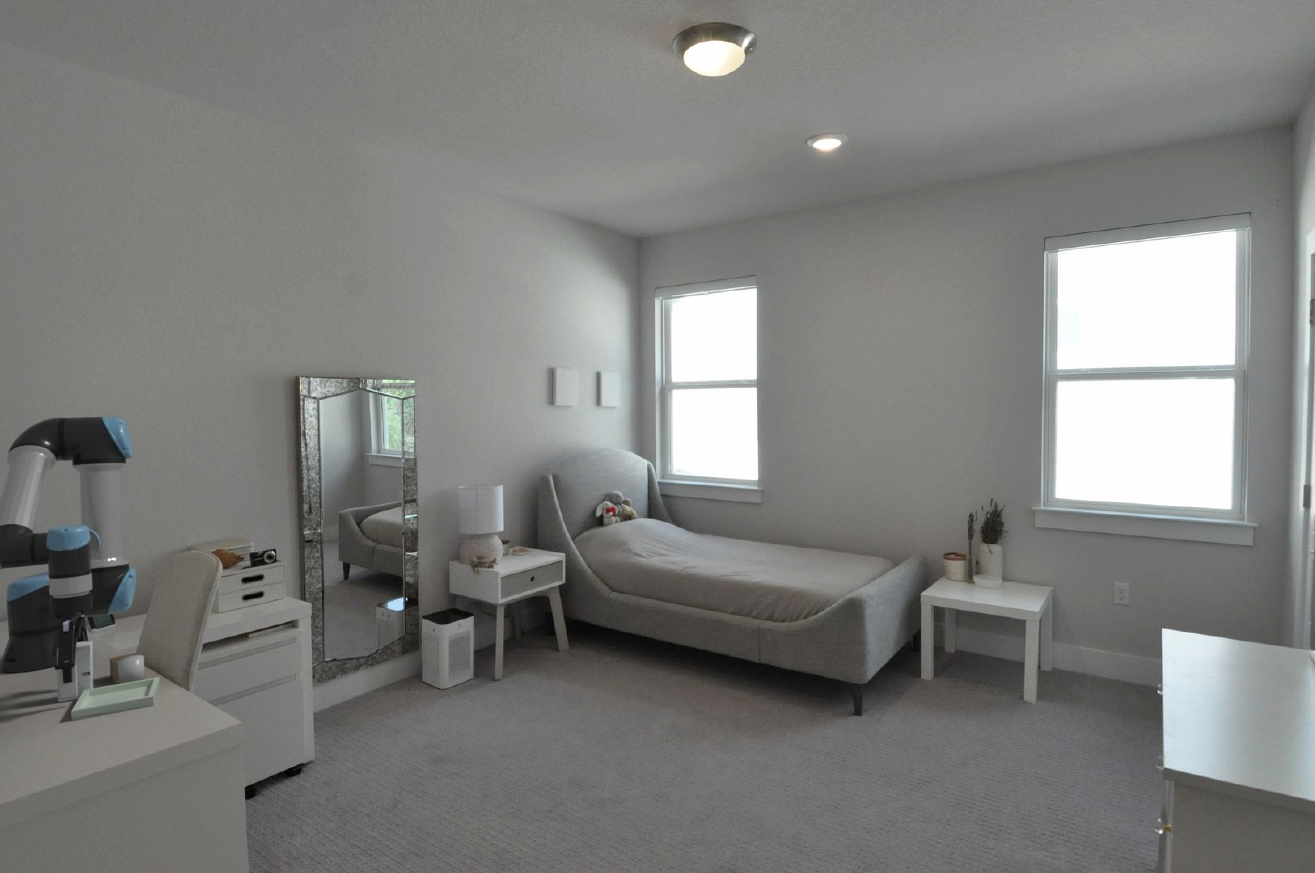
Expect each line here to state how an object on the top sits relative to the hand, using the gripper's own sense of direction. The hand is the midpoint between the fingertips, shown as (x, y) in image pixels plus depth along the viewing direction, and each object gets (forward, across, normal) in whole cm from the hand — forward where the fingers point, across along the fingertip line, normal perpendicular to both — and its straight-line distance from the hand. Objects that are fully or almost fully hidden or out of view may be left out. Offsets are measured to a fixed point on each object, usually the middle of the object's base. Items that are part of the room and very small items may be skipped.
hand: (75, 687), depth 160 cm
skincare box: (+2, 0, 0) cm, 2 cm away
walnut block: (+2, -9, +8) cm, 12 cm away
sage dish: (+2, +10, +9) cm, 14 cm away
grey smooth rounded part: (+2, -3, +10) cm, 11 cm away
